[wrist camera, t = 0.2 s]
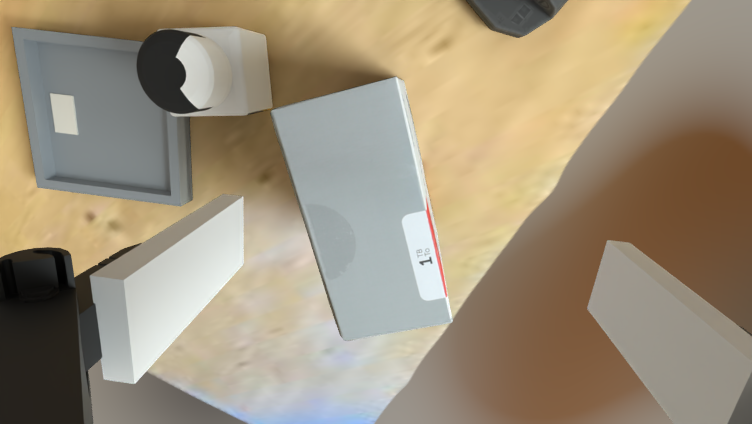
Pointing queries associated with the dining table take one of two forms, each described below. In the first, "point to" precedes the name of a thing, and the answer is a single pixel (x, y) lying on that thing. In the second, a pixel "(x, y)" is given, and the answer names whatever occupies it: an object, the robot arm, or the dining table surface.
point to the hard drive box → (366, 208)
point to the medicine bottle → (206, 71)
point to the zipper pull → (516, 14)
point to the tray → (99, 120)
